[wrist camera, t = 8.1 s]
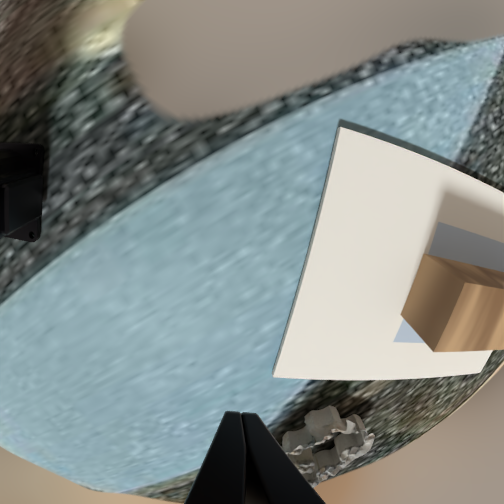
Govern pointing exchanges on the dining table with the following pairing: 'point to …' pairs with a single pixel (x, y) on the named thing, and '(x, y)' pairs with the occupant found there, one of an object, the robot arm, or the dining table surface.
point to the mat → (384, 263)
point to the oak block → (456, 306)
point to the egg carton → (316, 432)
